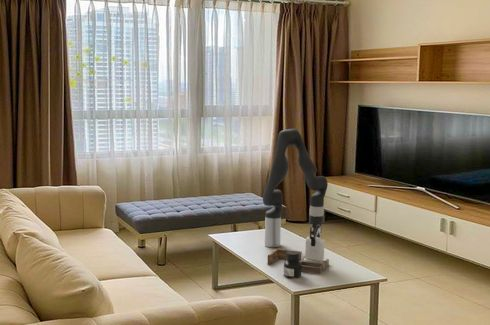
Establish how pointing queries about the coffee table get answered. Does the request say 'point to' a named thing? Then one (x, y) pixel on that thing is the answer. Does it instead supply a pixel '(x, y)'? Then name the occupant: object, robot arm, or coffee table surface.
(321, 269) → the two-compartment wooden organizer
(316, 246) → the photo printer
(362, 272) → the coffee table surface
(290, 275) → the ink bottle
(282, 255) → the wooden cubby shelf
